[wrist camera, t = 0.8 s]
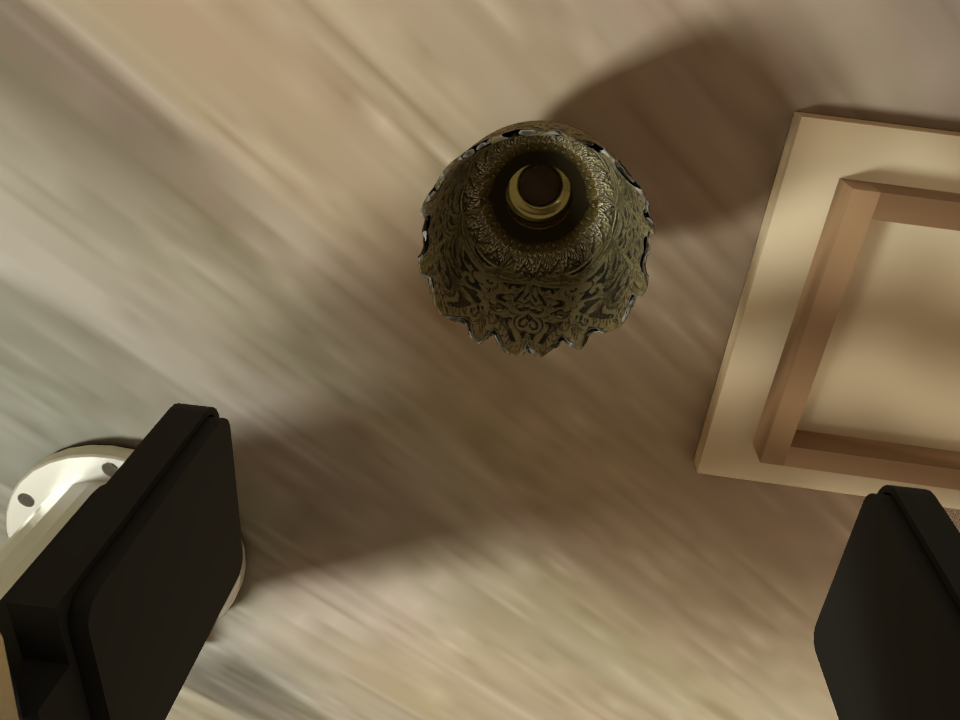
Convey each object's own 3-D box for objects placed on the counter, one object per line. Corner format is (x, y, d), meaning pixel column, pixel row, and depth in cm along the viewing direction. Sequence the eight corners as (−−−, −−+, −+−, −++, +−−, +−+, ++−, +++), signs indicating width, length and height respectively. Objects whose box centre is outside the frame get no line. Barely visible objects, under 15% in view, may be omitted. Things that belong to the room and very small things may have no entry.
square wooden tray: (1037, 508, 36) (1068, 544, 34) (693, 460, 37) (702, 493, 34) (1230, 166, 29) (1286, 184, 26) (794, 111, 29) (813, 124, 27)
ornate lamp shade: (613, 283, 33) (628, 374, 26) (441, 260, 33) (409, 343, 26) (651, 101, 29) (680, 149, 22) (457, 76, 30) (426, 116, 23)
